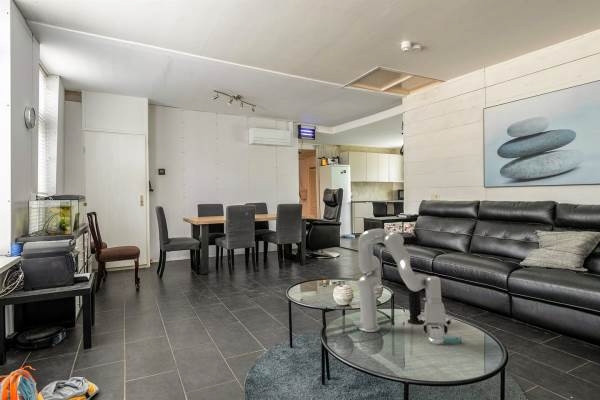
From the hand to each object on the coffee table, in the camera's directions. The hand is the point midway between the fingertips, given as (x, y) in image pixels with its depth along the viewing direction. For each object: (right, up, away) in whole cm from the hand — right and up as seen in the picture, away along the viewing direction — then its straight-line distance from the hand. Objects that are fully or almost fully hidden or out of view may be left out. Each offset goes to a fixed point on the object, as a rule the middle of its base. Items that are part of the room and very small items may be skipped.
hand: (435, 332), depth 173 cm
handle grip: (0, -6, +31) cm, 31 cm away
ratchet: (+4, -5, -1) cm, 6 cm away
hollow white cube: (0, -2, 0) cm, 2 cm away
